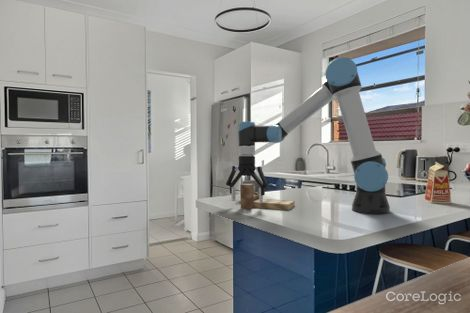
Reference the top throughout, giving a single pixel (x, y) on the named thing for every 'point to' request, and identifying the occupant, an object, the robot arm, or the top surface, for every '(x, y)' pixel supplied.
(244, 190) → the block
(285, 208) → the oak board
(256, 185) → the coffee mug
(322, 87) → the robot arm
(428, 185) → the milk carton
